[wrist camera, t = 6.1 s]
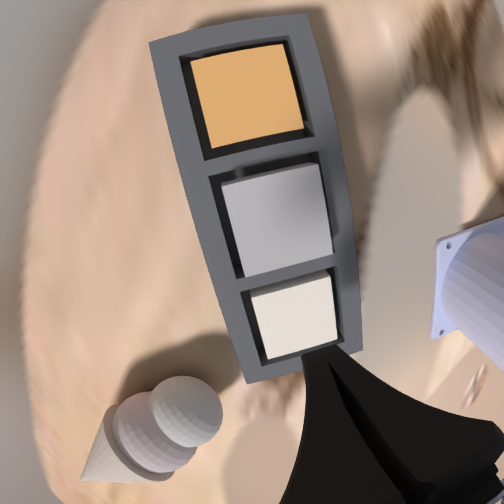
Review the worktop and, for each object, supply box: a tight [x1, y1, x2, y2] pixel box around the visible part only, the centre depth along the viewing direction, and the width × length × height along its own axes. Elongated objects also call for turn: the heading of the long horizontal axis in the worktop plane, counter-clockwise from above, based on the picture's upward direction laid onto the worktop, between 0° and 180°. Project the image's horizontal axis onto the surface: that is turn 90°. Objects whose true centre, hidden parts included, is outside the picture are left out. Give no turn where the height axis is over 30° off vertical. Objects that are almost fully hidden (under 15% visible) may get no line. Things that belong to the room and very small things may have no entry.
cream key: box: [249, 269, 337, 359], centre depth 14 cm, size 4×4×1 cm
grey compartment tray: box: [149, 13, 363, 384], centre depth 14 cm, size 6×16×3 cm, turn 13°
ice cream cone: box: [80, 376, 223, 482], centre depth 16 cm, size 6×6×15 cm
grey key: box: [221, 162, 333, 277], centre depth 12 cm, size 4×4×1 cm
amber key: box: [191, 44, 304, 148], centre depth 11 cm, size 4×4×1 cm
